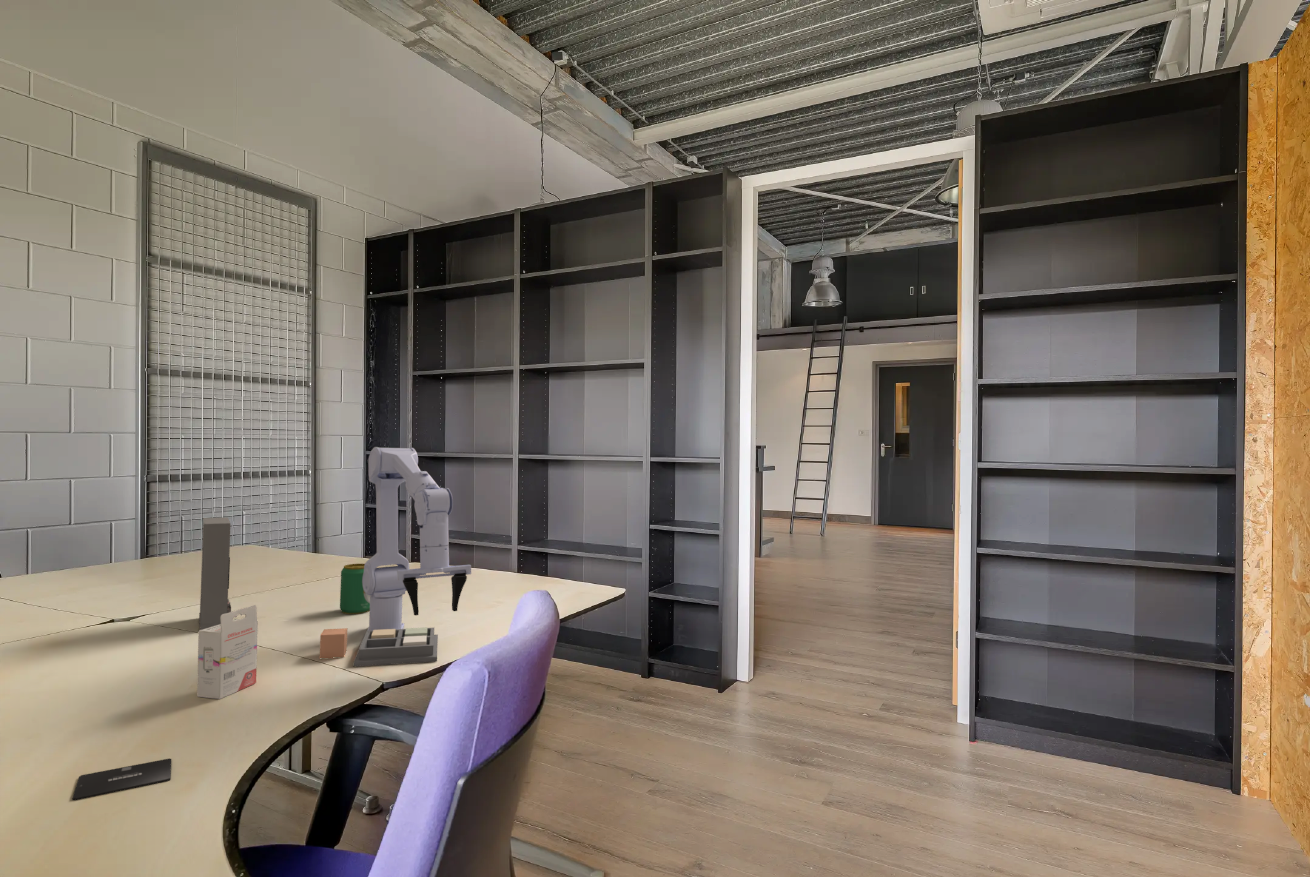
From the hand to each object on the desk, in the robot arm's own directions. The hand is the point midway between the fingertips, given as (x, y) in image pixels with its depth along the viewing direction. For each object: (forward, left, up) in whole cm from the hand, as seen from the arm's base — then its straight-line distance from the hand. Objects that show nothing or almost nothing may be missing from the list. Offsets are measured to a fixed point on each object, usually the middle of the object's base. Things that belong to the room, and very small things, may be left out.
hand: (435, 612), depth 141 cm
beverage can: (-49, -20, -11) cm, 54 cm away
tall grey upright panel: (-42, -51, -11) cm, 67 cm away
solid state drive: (+41, -38, -11) cm, 57 cm away
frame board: (-10, -7, -10) cm, 16 cm away
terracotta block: (-10, -20, -11) cm, 25 cm away
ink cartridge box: (+8, -35, -11) cm, 38 cm away
